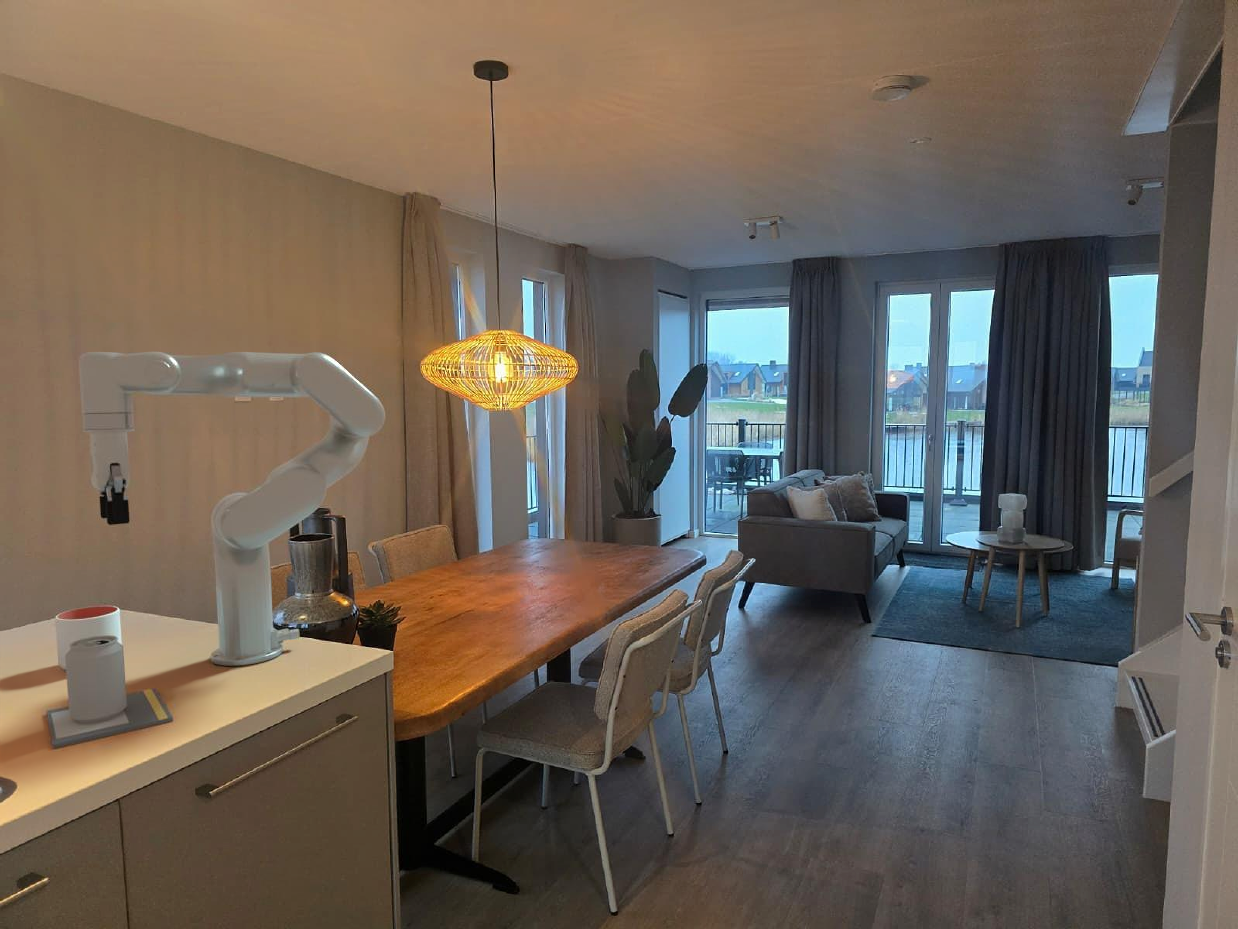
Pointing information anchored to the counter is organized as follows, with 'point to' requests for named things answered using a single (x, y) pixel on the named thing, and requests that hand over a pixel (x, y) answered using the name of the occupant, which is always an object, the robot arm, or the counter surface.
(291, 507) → the robot arm
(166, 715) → the mat
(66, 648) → the cup
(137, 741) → the counter surface
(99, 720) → the can
